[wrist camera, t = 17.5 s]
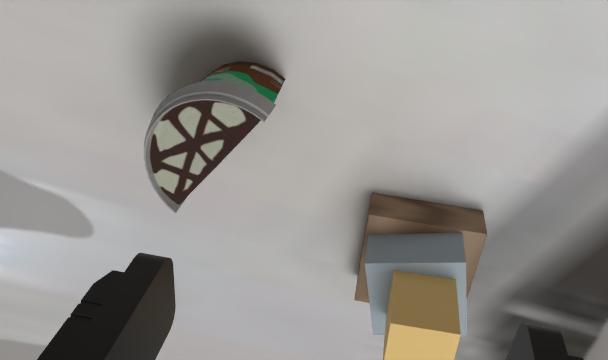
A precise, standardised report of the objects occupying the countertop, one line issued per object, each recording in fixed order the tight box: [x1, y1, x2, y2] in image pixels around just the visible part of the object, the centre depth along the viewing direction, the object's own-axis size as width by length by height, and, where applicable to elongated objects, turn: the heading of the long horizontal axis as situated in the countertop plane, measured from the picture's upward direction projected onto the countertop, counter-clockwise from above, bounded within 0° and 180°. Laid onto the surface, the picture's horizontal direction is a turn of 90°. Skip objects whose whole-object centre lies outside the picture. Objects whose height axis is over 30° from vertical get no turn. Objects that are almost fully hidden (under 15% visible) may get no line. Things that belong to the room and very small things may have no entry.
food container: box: [144, 62, 285, 213], centre depth 44 cm, size 12×6×10 cm, turn 138°
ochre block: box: [383, 270, 461, 360], centre depth 44 cm, size 5×5×6 cm
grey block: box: [365, 233, 467, 336], centre depth 48 cm, size 8×8×4 cm
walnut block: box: [355, 193, 487, 303], centre depth 52 cm, size 10×10×4 cm
